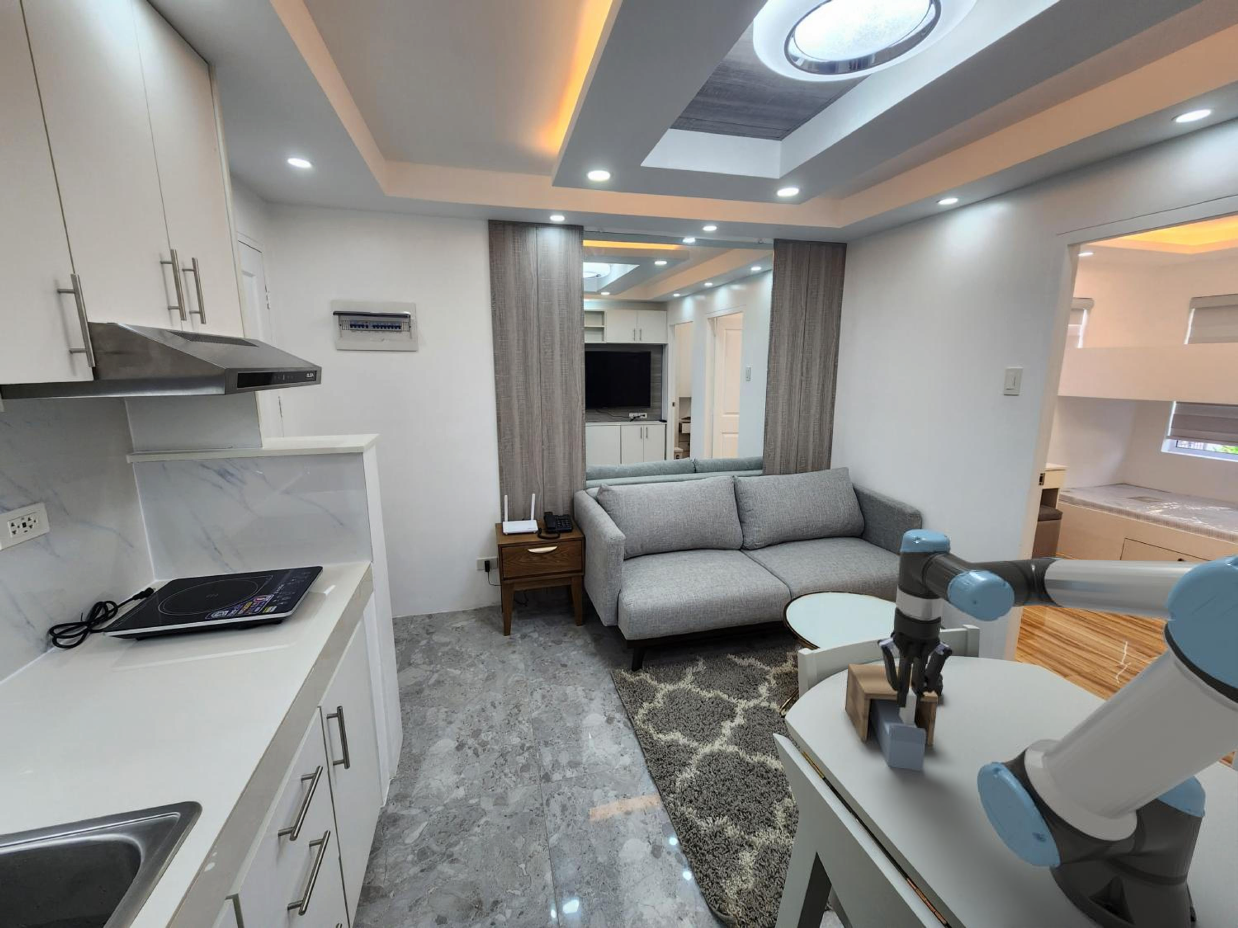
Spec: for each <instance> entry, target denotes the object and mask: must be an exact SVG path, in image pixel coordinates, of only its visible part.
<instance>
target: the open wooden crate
mask: <svg viewBox="0 0 1238 928" xmlns="http://www.w3.org/2000/svg"><path fill="white" fill-rule="evenodd" d="M847 665H848V666H847V677H846V688H845V689H846V690H845V693H846V694H845V706H844V709H845V711H846V712H847V715H848V718H849V719H850V721H851V723H852V725H853V727H854V729H855V731H856V733H857V735H858V737H859V739H860V741H863V742H867V735H868V724H869V715H870V714H871V704H872V699H891V700H897V691H894V690H893V689H892V687H891V686H890V684H889V683H888V681H887V675H886V670H885V665H875V664H854V663H848V664H847ZM895 667H896V673H897V677H898V668H899V665H897V666H896V665H895ZM911 677H912V668H911ZM911 677H910V686H909V687H910V688H911V689H912V687H911ZM924 695H925V697H923V698H921V701H920V707H919V708H915V716H914V723H915V725H916V727H917V728H922V729H925V731H926V741H925V744H926V745H927V746H933V744H934V738H935V737H934V736H935V730H936V729H935V728H936V727H935V726H936V718H937V709H938V702H939V698H938V696H937V694H936V693H935V692H934V691H933V692H932V693H928V692H924ZM869 713H870V714H869Z"/></svg>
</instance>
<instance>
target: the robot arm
mask: <svg viewBox="0 0 1238 928" xmlns="http://www.w3.org/2000/svg"><path fill="white" fill-rule="evenodd" d="M951 549H952V548H951V540H950V538H949V537H948V536H947V535H946V534H944V533H941V532H939V531H934V530H930V529H921V528H920V529H919V528H918V529H911V530H908V531H906V532H905V533H904V534H903V536H902V541H901V547H900V550H899V565H898V578H897V587H896V588H897V589H896V599H895V606H896V607H895V608H894V616H893V630H892V632H891V634H890V636H889V638H887V639H885V640H883V639H878V640H877V642H876V643H877V645H878V647H879V649H880V650H881V654H882V659H883V665H884V666H885V670H886V675H887V681H888V683H889V684H890V686H891V687H892V689H893V690H894V691H897V700H896V701H897V703H898V705H899V706H900V714H899V716H900V717H901V719H902V721H903V722H904V724H905V725H911V726H913V725H914V716H915V708H919V707H920V701H921V698H923V697H925V695H924V692H928V693H932V692H933V690H934V688H935V685H936V683H937V680H938V678H939V676H940V674H942V673H941V672H942V670H943V668H944V665H945V663H946V661H947V660H948V658H949V657H951V655H952V654H953V653H954V652H953V650H952V649H951V647H950V646H949V645H948V644H947V643H946V642H943V641H941V639H940V632H941V626H942V625H941V624H942V615H943V607H944V601H945V602H947V603H948V604H950V605H952V606H953V607H954V608H956V610H958V611H960V612H961V613H964V614H966V615H968V616H971V617H972V618H974V619H976V620H978V621H982V622H994V621H998V619H999V618H1000V617H1005V616H1006V615H1007V614H1008V613H1009V612H1010V611H1011V610H1012V608H1017V607H1018V608H1019V607H1029V606H1031V607H1032V606H1033V607H1034V606H1042V607H1043V606H1045V607H1054V608H1062V609H1073V610H1082V611H1083V610H1084V611H1089V612H1090V611H1091V612H1098V613H1099V612H1100V613H1109V614H1115V615H1116V614H1117V615H1124V616H1125V615H1126V616H1132V617H1133V616H1134V617H1142V618H1149V619H1158V620H1166V623H1165V624H1164V626H1163V628H1162V631H1161V632H1162V639H1163V642H1164V644H1165V647H1166V648H1167V649H1165V650H1164V651H1163V652H1162V653H1160V654H1159V656H1157V657H1156V658H1155V659H1154V660H1153V661H1151V663H1149V664H1148V665H1147V666H1146V667H1144V669H1142V670H1141V671H1140V672H1139V673H1137V674H1136V675H1135V676H1134V677H1133V678H1132V679H1130V680H1129V681H1128V682H1126V684H1125V685H1123V686H1122V687H1121V688H1120V689H1119V690H1117V691H1116V692H1115V693H1114V694H1113V695H1111V696H1110V697H1109V698H1108V699H1107V700H1105V702H1103V703H1102V704H1101V705H1100V706H1098V707H1097V708H1096V709H1095V710H1094V711H1093V712H1092V713H1091V714H1089V715H1088V716H1086V718H1084V719H1083V720H1082V721H1081V722H1080V723H1078V724H1077V725H1076V726H1075V727H1074V728H1073V729H1071V730H1070V731H1069V732H1068V733H1066V734H1065V736H1063V737H1062V738H1060V739H1059V740H1057V739H1054V738H1053V739H1050V738H1042V739H1039V740H1036V741H1035V742H1033V743H1031V744H1030V745H1029V746H1027V747H1026V748H1025V749H1024V750H1023V751H1022V752H1020V753H1019V754H1018V755H1017V756H1016V757H1014V758H1013V759H1011V760H1008V761H1003V762H998V761H992V762H991V763H988V764H987V763H986V764H985V765H982V766H981V768H980V769H979V770H978V772H977V777H976V778H977V779H976V782H977V783H976V784H977V792H978V795H979V797H980V802H981V804H982V807H983V810H984V813H985V814H986V816H987V818H988V820H989V822H990V824H991V825H992V827H993V829H994V830H995V832H996V833H997V835H998V837H999V838H1000V839H1001V841H1002V842H1003V843H1004V844H1005V845H1006V846H1007V847H1008V849H1009V850H1010V851H1011V852H1013V853H1014V854H1015V855H1017V856H1018V857H1019V859H1021V860H1023V861H1024V862H1026V863H1028V864H1030V865H1031V866H1032V865H1033V866H1036V867H1049V869H1050V872H1051V874H1052V876H1053V878H1054V880H1055V882H1056V883H1057V884H1058V886H1059V887H1060V889H1061V890H1062V891H1063V892H1064V894H1065V895H1066V896H1067V897H1068V898H1069V899H1070V900H1071V901H1072V903H1074V904H1075V906H1077V907H1078V909H1080V910H1081V911H1082V912H1084V913H1085V914H1086V915H1087V916H1088V917H1090V918H1091V919H1092V920H1094V921H1095V922H1097V923H1098V924H1100V925H1101V926H1102V927H1104V928H1198V917H1197V915H1196V910H1195V908H1194V903H1193V899H1192V895H1191V891H1190V890H1191V889H1190V886H1189V882H1188V875H1189V873H1190V872H1189V871H1190V868H1191V863H1192V859H1193V857H1194V851H1195V848H1196V844H1197V841H1198V837H1199V833H1200V829H1201V826H1202V822H1203V818H1204V817H1205V816H1206V810H1205V804H1206V799H1207V798H1206V790H1205V789H1204V787H1203V786H1202V784H1201V782H1200V781H1199V780H1198V778H1197V777H1195V775H1198V774H1199V773H1201V772H1202V771H1204V770H1205V769H1207V768H1209V767H1211V766H1212V765H1215V763H1218V762H1219V761H1221V760H1222V759H1224V758H1226V757H1227V756H1229V755H1231V754H1232V753H1234V752H1235V751H1237V750H1238V554H1236V555H1230V556H1226V557H1221V558H1217V559H1216V558H1215V559H1213V560H1210V561H1183V560H1182V561H1177V560H1176V561H1174V560H1172V561H1171V560H1170V561H1169V560H1166V561H1165V560H1126V559H1125V560H1122V559H1121V560H1120V559H1119V560H1116V559H1115V560H1114V559H1113V560H1109V559H1065V558H1062V557H1035V558H1030V559H1029V558H1028V559H1027V558H1026V559H1014V560H1013V559H1012V560H997V561H993V560H992V561H980V562H972V561H970V562H969V561H968V560H965V559H963V558H961V557H959V556H957V555H955V554H953V553H951ZM894 646H895V647H896V649H897V650H898V655H899V660H898V666H899V668H898V677H897V673H896V667H895V666H896V663H895V658H894V654H893V653H894ZM929 657H930V658H929ZM911 668H912V677H911ZM910 677H911V687H912V689H911V688H910V687H909V686H910Z"/></svg>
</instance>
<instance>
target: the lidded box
mask: <svg viewBox="0 0 1238 928" xmlns="http://www.w3.org/2000/svg"><path fill="white" fill-rule="evenodd" d="M899 714H900V706H899V705H898V703H897V701H896V700H891V699H872V704H871V713H870V720H871V723H872V725H873V728H874V731H875V734H876V736H877V740H878V742H879V744H880V747H881V750H882V752H883V756H884V759H885V761H886V765H887V767H888V766H889V767H892V768H893V767H895V768H900V769H901V768H902V769H906V770H913V771H919V772H922V771H923V766H924V757H925V748H926V742H925V741H926V731H925V729H922V728H917V727H916V725H915V723H914V725H913V726H911V725H905V724H904V722H903V721H902V719H901V717H900V716H899Z"/></svg>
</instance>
